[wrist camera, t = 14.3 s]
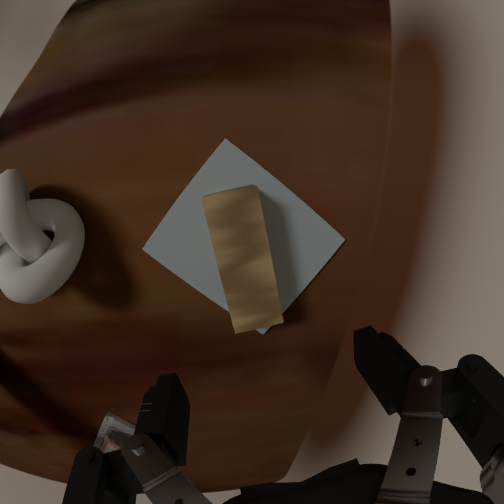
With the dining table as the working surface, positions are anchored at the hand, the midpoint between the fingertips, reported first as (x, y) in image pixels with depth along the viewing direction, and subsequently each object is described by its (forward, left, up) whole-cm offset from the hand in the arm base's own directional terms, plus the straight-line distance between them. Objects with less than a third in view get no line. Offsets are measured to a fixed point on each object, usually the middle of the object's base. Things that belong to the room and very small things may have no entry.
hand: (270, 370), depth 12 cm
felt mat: (-1, +2, -15) cm, 15 cm away
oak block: (+3, -2, -12) cm, 13 cm away
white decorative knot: (-18, -10, -15) cm, 26 cm away
